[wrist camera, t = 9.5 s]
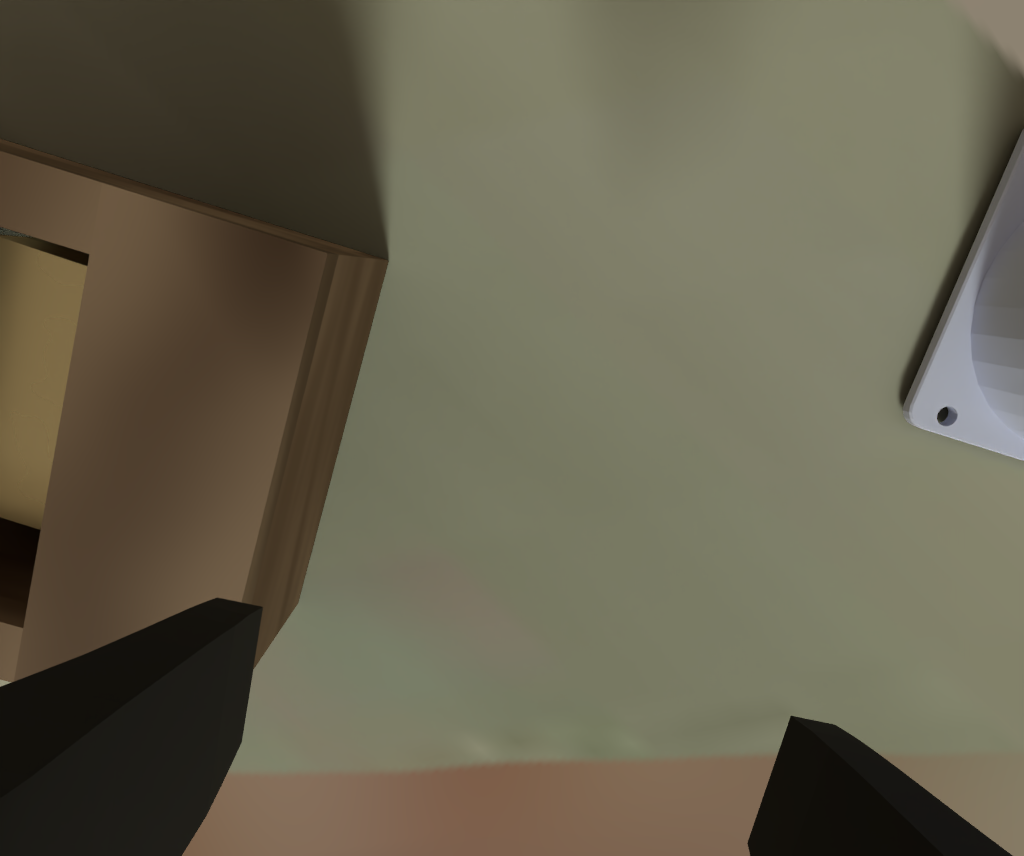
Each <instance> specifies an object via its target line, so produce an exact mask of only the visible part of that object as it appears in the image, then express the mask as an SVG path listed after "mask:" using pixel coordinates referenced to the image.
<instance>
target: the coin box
mask: <svg viewBox="0 0 1024 856" xmlns="http://www.w3.org/2000/svg"><path fill="white" fill-rule="evenodd" d="M0 227H3V228H6V229H9V230H13V231H16V232H19V233H22V234H26V235H29V236H32V237H35V238H39V239H42V240H45V241H48V242H52V243H55V244H58V245H61V246H65V247H68V248H71V249H74V250H78V251H81V252H84V253H87V254H90V255H89V260H88V266H87V272H86V277H85V283H84V289H83V294H82V300H81V305H80V311H79V317H78V322H77V328H76V334H75V339H74V345H73V351H72V356H71V362H70V367H69V373H68V379H67V384H66V390H65V396H64V401H63V407H62V413H61V418H60V424H59V429H58V435H57V441H56V446H55V452H54V458H53V463H52V469H51V475H50V480H49V486H48V491H47V497H46V503H45V508H44V514H43V520H42V525H41V530H39V529H36V528H33V527H30V526H26V525H23V524H20V523H17V522H14V521H10V520H7V519H4V518H1V517H0V679H1V680H5V681H9V682H14V681H17V680H19V679H22V678H25V677H27V676H30V675H32V674H35V673H37V672H40V671H43V670H45V669H48V668H50V667H53V666H56V665H58V664H61V663H63V662H66V661H68V660H71V659H74V658H76V657H79V656H81V655H84V654H86V653H88V652H91V651H93V650H95V649H98V648H100V647H102V646H105V645H107V644H109V643H111V642H114V641H116V640H118V639H121V638H123V637H125V636H128V635H130V634H132V633H134V632H137V631H139V630H141V629H144V628H146V627H148V626H150V625H153V624H155V623H157V622H159V621H162V620H164V619H166V618H168V617H171V616H173V615H175V614H177V613H180V612H182V611H184V610H186V609H189V608H191V607H194V606H196V605H198V604H201V603H203V602H206V601H209V600H211V599H214V598H217V597H218V598H223V599H227V600H232V601H237V602H242V603H247V604H252V605H257V606H261V607H263V611H262V617H261V623H260V630H259V636H258V642H257V649H256V655H255V661H254V667H253V669H254V668H255V666H256V665H257V663H258V662H259V660H260V659H261V657H262V656H263V654H264V653H265V652H266V650H267V649H268V647H269V646H270V644H271V643H272V641H273V640H274V638H275V637H276V635H277V634H278V632H279V631H280V629H281V628H282V626H283V625H284V623H285V622H286V620H287V619H288V617H289V616H290V614H291V613H292V611H293V610H294V608H295V607H296V606H297V604H298V601H299V598H300V594H301V590H302V586H303V583H304V579H305V575H306V571H307V567H308V564H309V560H310V556H311V552H312V549H313V545H314V541H315V537H316V533H317V530H318V526H319V522H320V518H321V515H322V511H323V507H324V503H325V499H326V496H327V492H328V488H329V484H330V481H331V477H332V473H333V469H334V465H335V462H336V458H337V454H338V450H339V447H340V443H341V439H342V435H343V432H344V428H345V424H346V420H347V416H348V413H349V409H350V405H351V401H352V398H353V394H354V390H355V386H356V382H357V379H358V375H359V371H360V367H361V364H362V360H363V356H364V352H365V348H366V345H367V341H368V337H369V333H370V330H371V326H372V322H373V318H374V314H375V311H376V307H377V303H378V299H379V296H380V292H381V288H382V284H383V280H384V277H385V273H386V269H387V265H388V262H389V261H388V260H385V259H382V258H379V257H376V256H372V255H369V254H366V253H363V252H360V251H356V250H353V249H350V248H347V247H344V246H341V245H337V244H334V243H331V242H328V241H325V240H321V239H318V238H315V237H312V236H309V235H306V234H302V233H299V232H296V231H293V230H290V229H286V228H283V227H280V226H277V225H274V224H271V223H267V222H264V221H261V220H258V219H255V218H251V217H248V216H245V215H242V214H239V213H235V212H232V211H229V210H226V209H223V208H220V207H216V206H213V205H210V204H207V203H204V202H200V201H197V200H194V199H191V198H188V197H185V196H181V195H178V194H175V193H172V192H169V191H165V190H162V189H159V188H156V187H153V186H150V185H146V184H143V183H140V182H137V181H134V180H130V179H127V178H124V177H121V176H118V175H115V174H111V173H108V172H105V171H102V170H99V169H95V168H92V167H89V166H86V165H83V164H79V163H76V162H73V161H70V160H67V159H64V158H60V157H57V156H54V155H51V154H48V153H44V152H41V151H38V150H35V149H32V148H29V147H25V146H22V145H19V144H16V143H13V142H9V141H6V140H3V139H0Z"/></svg>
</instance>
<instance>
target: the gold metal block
mask: <svg viewBox="0 0 1024 856" xmlns="http://www.w3.org/2000/svg"><path fill="white" fill-rule="evenodd" d="M89 255H90V254H87V253H84V252H81V251H78V250H74V249H71V248H68V247H65V246H61V245H58V244H55V243H52V242H48V241H45V240H42V239H39V238H34V237H21V236H9V235H0V517H1V518H4V519H7V520H10V521H14V522H17V523H20V524H23V525H26V526H30V527H33V528H36V529H39V530H41V525H42V520H43V514H44V508H45V503H46V497H47V491H48V486H49V480H50V475H51V469H52V463H53V458H54V452H55V446H56V441H57V435H58V429H59V424H60V418H61V413H62V407H63V401H64V396H65V390H66V384H67V379H68V373H69V367H70V362H71V356H72V351H73V345H74V339H75V334H76V328H77V322H78V317H79V311H80V305H81V300H82V294H83V289H84V283H85V277H86V272H87V266H88V260H89Z"/></svg>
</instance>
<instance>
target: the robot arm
mask: <svg viewBox="0 0 1024 856" xmlns="http://www.w3.org/2000/svg"><path fill="white" fill-rule="evenodd" d="M946 406H947V408H948V411H949V412H948V417H947V418H946V419H945V421H943V422H941V423H938V420H937V414H938V412H939V411H940V410H941V409H942V408H944V407H946ZM903 414H904V418H905V419H906V420H907V422H908V423H910V424H912V425H913V426H916V427H918V428H921V429H924V430H927V431H930V432H934V433H937V434H940V435H943V436H946V437H950V438H953V439H956V440H959V441H962V442H965V443H969V444H972V445H975V446H978V447H981V448H985V449H988V450H991V451H994V452H997V453H1000V454H1004V455H1007V456H1010V457H1013V458H1016V459H1020V460H1023V461H1024V129H1023V131H1022V132H1021V135H1020V137H1019V139H1018V141H1017V144H1016V146H1015V148H1014V151H1013V153H1012V155H1011V158H1010V160H1009V162H1008V165H1007V167H1006V169H1005V172H1004V174H1003V176H1002V178H1001V181H1000V183H999V185H998V188H997V190H996V192H995V195H994V197H993V199H992V202H991V204H990V206H989V209H988V211H987V213H986V215H985V218H984V220H983V222H982V225H981V227H980V229H979V232H978V234H977V236H976V239H975V241H974V243H973V245H972V248H971V250H970V252H969V255H968V257H967V259H966V262H965V264H964V266H963V269H962V271H961V273H960V276H959V278H958V280H957V282H956V285H955V287H954V289H953V292H952V294H951V296H950V299H949V301H948V303H947V306H946V308H945V310H944V312H943V315H942V317H941V319H940V322H939V324H938V326H937V329H936V331H935V333H934V336H933V338H932V340H931V343H930V345H929V347H928V349H927V352H926V354H925V356H924V359H923V361H922V363H921V366H920V368H919V370H918V373H917V375H916V377H915V379H914V382H913V384H912V386H911V389H910V391H909V393H908V396H907V398H906V400H905V403H904V407H903ZM262 611H263V607H261V606H257V605H252V604H247V603H242V602H237V601H232V600H227V599H223V598H218V597H217V598H214V599H211V600H209V601H206V602H203V603H201V604H198V605H196V606H194V607H191V608H189V609H186V610H184V611H182V612H180V613H177V614H175V615H173V616H171V617H168V618H166V619H164V620H162V621H159V622H157V623H155V624H153V625H150V626H148V627H146V628H144V629H141V630H139V631H137V632H134V633H132V634H130V635H128V636H125V637H123V638H121V639H118V640H116V641H114V642H111V643H109V644H107V645H105V646H102V647H100V648H98V649H95V650H93V651H91V652H88V653H86V654H84V655H81V656H79V657H76V658H74V659H71V660H68V661H66V662H63V663H61V664H58V665H56V666H53V667H50V668H48V669H45V670H43V671H40V672H37V673H35V674H32V675H30V676H27V677H25V678H22V679H19V680H17V681H14V682H12V683H9V684H7V685H4V686H1V687H0V856H182V854H183V853H184V851H185V849H186V848H187V846H188V845H189V843H190V841H191V839H192V838H193V837H194V835H195V833H196V832H197V830H198V828H199V827H200V825H201V824H202V822H203V820H204V819H205V817H206V815H207V813H208V811H209V809H210V807H211V805H212V803H213V801H214V799H215V797H216V795H217V793H218V791H219V789H220V787H221V785H222V783H223V781H224V779H225V777H226V774H227V772H228V770H229V768H230V766H231V764H232V762H233V759H234V757H235V755H236V753H237V751H238V749H239V747H240V744H241V742H242V736H243V730H244V724H245V718H246V711H247V705H248V699H249V692H250V686H251V680H252V674H253V667H254V661H255V655H256V649H257V642H258V636H259V630H260V623H261V617H262ZM748 847H749V851H750V856H1012V855H1011V854H1010V853H1008V852H1007V851H1006V850H1004V849H1003V848H1002V847H1000V846H999V845H998V844H996V843H995V842H994V841H992V840H991V839H989V838H988V837H987V836H986V835H984V834H983V833H981V832H980V831H979V830H978V829H976V828H975V827H974V826H972V825H971V824H970V823H969V822H967V821H966V820H964V819H963V818H962V817H961V816H959V815H958V814H957V813H955V812H954V811H953V810H952V809H950V808H949V807H948V806H946V805H945V804H944V803H942V802H941V801H940V800H939V799H937V798H936V797H935V796H933V795H932V794H931V793H929V792H928V791H927V790H925V789H924V788H923V787H922V786H920V785H919V784H918V783H916V782H915V781H914V780H912V779H911V778H910V777H909V776H907V775H906V774H904V773H903V772H902V771H901V770H899V769H898V768H897V767H895V766H894V765H893V764H891V763H890V762H889V761H887V760H886V759H885V758H883V757H882V756H881V755H879V754H878V753H876V752H875V751H874V750H872V749H871V748H870V747H868V746H867V745H865V744H864V743H862V742H861V741H860V740H858V739H857V738H855V737H854V736H852V735H851V734H849V733H847V732H846V731H844V730H843V729H841V728H839V727H838V726H836V725H833V724H829V723H824V722H819V721H814V720H809V719H804V718H799V717H795V716H791V717H790V720H789V723H788V726H787V729H786V732H785V735H784V738H783V741H782V744H781V746H780V749H779V752H778V755H777V758H776V761H775V764H774V767H773V770H772V773H771V776H770V779H769V782H768V785H767V788H766V790H765V793H764V796H763V799H762V802H761V805H760V808H759V811H758V814H757V817H756V820H755V823H754V826H753V829H752V831H751V834H750V838H749V840H748Z"/></svg>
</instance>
